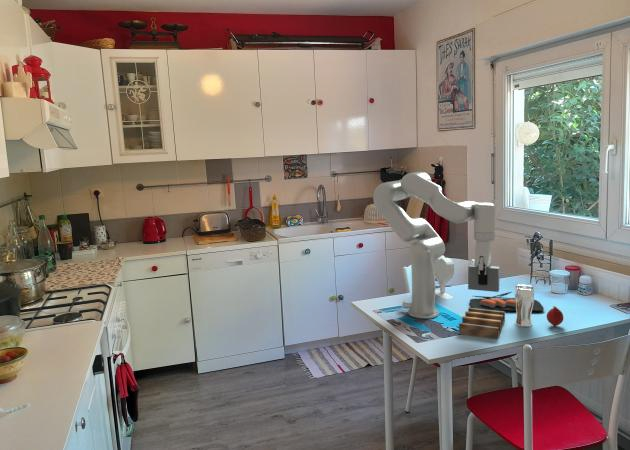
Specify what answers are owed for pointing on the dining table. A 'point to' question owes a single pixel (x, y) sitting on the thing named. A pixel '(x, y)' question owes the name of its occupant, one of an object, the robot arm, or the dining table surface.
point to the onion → (555, 316)
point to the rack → (482, 323)
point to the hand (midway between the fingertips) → (483, 282)
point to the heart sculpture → (443, 274)
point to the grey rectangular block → (492, 278)
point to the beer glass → (524, 305)
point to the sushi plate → (500, 303)
